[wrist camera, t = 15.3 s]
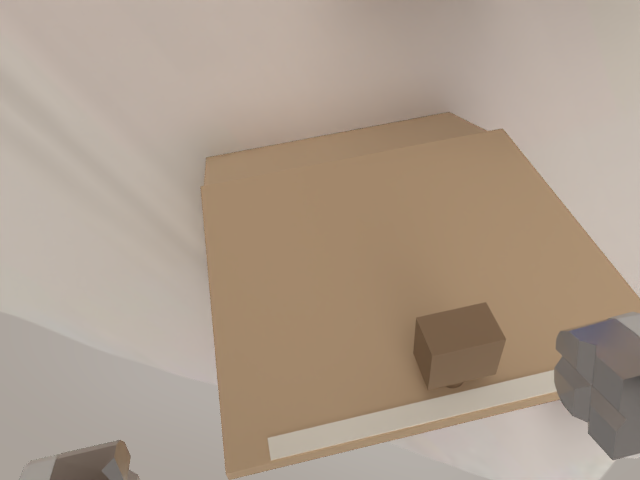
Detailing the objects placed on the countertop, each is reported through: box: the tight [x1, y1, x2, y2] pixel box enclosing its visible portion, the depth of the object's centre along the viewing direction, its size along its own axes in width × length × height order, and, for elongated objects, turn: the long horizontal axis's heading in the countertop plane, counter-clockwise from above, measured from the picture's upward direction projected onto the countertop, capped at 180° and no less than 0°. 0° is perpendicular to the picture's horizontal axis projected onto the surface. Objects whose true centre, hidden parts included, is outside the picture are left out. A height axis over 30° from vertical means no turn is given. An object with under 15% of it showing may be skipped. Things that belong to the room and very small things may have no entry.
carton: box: [204, 112, 487, 186], centre depth 48 cm, size 22×20×10 cm
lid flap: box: [201, 129, 640, 480], centre depth 30 cm, size 22×20×5 cm
